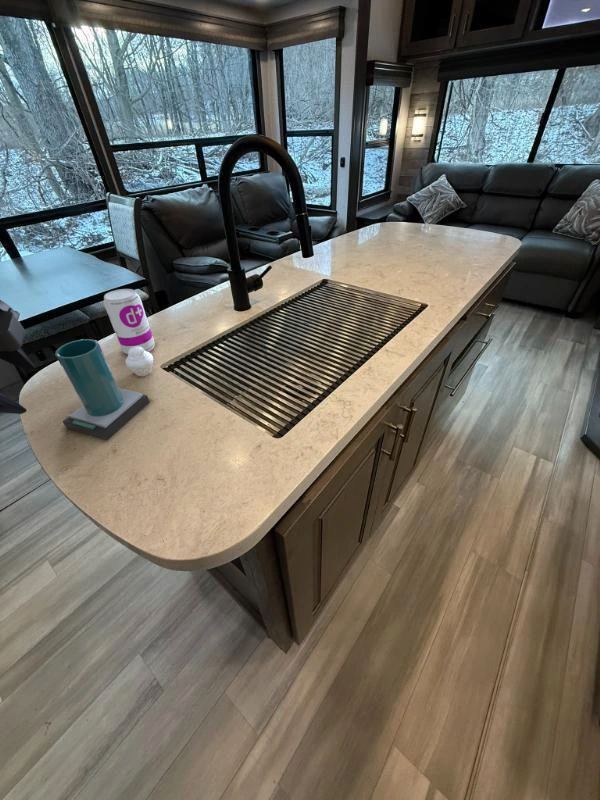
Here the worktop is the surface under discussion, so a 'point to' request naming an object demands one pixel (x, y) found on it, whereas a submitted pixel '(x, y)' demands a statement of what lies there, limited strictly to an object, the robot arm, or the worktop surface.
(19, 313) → the robot arm
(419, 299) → the worktop surface
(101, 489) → the worktop surface
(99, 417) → the scale
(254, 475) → the worktop surface
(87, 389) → the cup
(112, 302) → the supplement can
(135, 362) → the white frosted cupcake
